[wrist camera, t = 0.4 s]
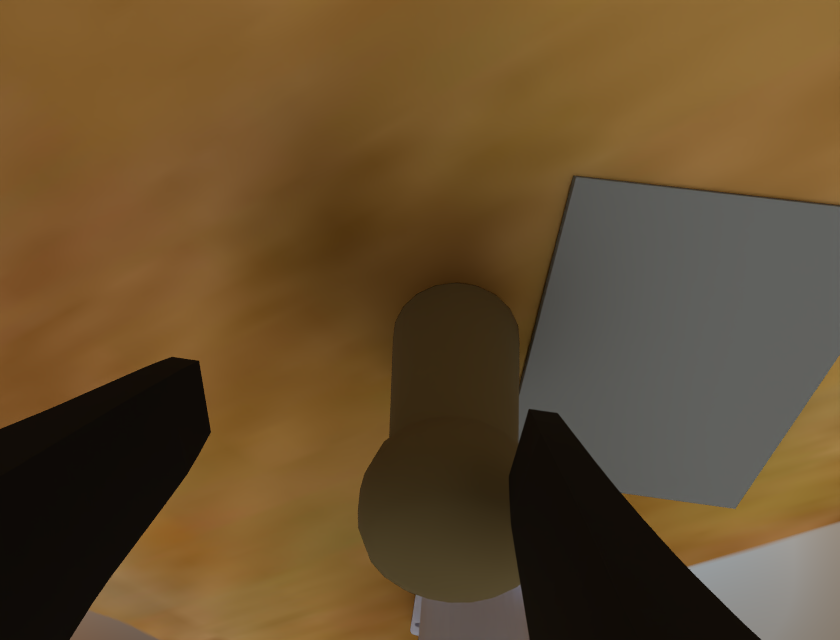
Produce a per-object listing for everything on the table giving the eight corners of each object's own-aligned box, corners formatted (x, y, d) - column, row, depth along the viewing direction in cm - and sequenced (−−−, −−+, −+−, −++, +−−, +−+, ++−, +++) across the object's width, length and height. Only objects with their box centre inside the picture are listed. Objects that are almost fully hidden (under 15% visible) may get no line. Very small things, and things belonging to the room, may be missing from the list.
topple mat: (731, 502, 23) (735, 508, 22) (497, 470, 23) (498, 475, 23) (922, 214, 15) (932, 217, 15) (573, 175, 16) (576, 177, 15)
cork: (367, 327, 20) (277, 540, 10) (472, 257, 18) (486, 439, 8) (441, 410, 22) (425, 656, 12) (543, 355, 20) (625, 600, 10)
